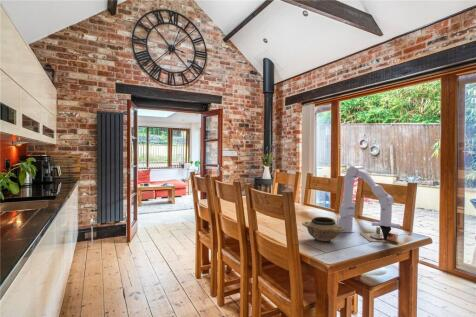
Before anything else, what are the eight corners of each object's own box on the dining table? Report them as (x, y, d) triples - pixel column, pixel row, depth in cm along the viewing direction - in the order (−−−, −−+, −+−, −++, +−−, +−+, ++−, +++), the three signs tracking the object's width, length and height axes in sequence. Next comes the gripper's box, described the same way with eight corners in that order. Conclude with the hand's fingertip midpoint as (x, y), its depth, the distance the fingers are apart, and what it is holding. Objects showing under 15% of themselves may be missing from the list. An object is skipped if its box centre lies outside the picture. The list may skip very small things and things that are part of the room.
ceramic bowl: (298, 244, 163) (296, 221, 159) (309, 230, 176) (307, 208, 173) (340, 254, 148) (339, 229, 145) (349, 238, 162) (348, 214, 158)
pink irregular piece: (367, 236, 168) (367, 229, 168) (373, 233, 174) (373, 226, 174) (393, 243, 157) (393, 235, 157) (399, 239, 163) (399, 232, 162)
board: (369, 241, 161) (369, 230, 160) (359, 233, 176) (360, 223, 175) (397, 242, 160) (398, 231, 159) (385, 234, 175) (386, 224, 174)
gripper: (373, 216, 158) (372, 239, 159) (401, 218, 154) (400, 242, 154) (371, 213, 165) (370, 235, 165) (398, 215, 160) (397, 238, 161)
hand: (385, 239), depth 160 cm, fingers closed
